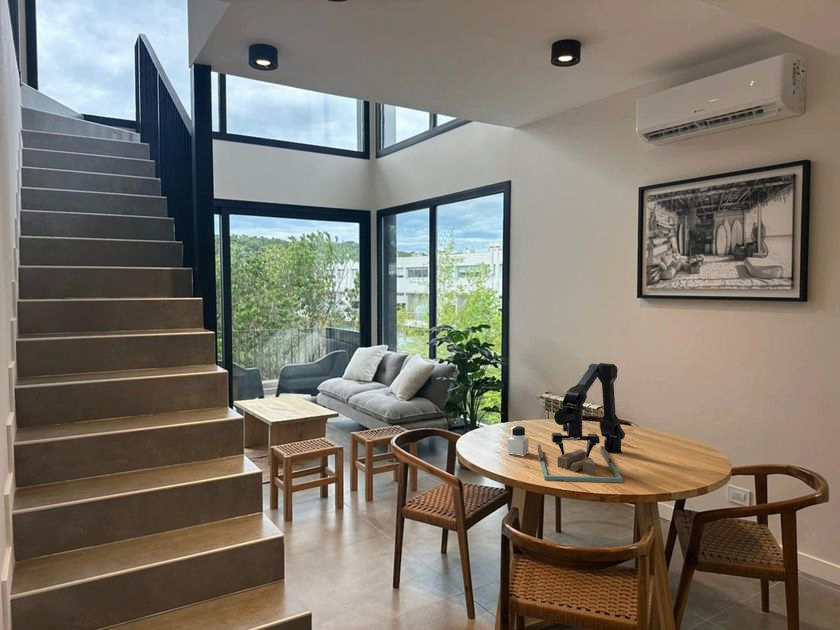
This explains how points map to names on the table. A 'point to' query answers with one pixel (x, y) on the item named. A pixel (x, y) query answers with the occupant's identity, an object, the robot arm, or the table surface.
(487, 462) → the table surface
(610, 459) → the pair of brown bars
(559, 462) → the wooden block set
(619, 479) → the frame
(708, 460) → the table surface
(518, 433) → the medicine bottle
